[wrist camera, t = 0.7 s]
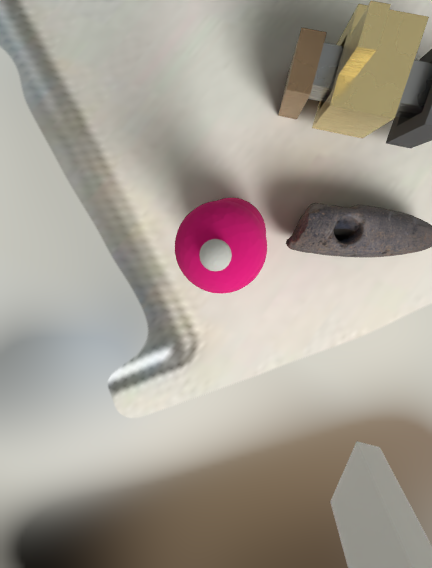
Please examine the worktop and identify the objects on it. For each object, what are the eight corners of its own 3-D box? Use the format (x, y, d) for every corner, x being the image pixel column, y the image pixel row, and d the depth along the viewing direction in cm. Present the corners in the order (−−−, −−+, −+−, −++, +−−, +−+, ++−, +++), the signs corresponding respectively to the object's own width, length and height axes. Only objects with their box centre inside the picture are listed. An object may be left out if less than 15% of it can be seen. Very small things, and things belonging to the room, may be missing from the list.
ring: (385, 143, 29) (424, 124, 23) (411, 66, 27) (461, 22, 21) (410, 148, 29) (456, 130, 22) (437, 71, 27) (496, 29, 21)
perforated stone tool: (426, 212, 32) (473, 213, 25) (413, 260, 34) (455, 272, 27) (287, 200, 33) (297, 197, 27) (280, 246, 35) (288, 255, 28)
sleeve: (312, 127, 29) (346, 83, 19) (333, 51, 28) (383, -42, 17) (362, 138, 29) (424, 99, 19) (386, 61, 27) (469, -27, 17)
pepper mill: (222, 186, 34) (188, 155, 14) (276, 220, 34) (313, 235, 15) (191, 241, 35) (123, 278, 16) (242, 272, 36) (235, 346, 16)
